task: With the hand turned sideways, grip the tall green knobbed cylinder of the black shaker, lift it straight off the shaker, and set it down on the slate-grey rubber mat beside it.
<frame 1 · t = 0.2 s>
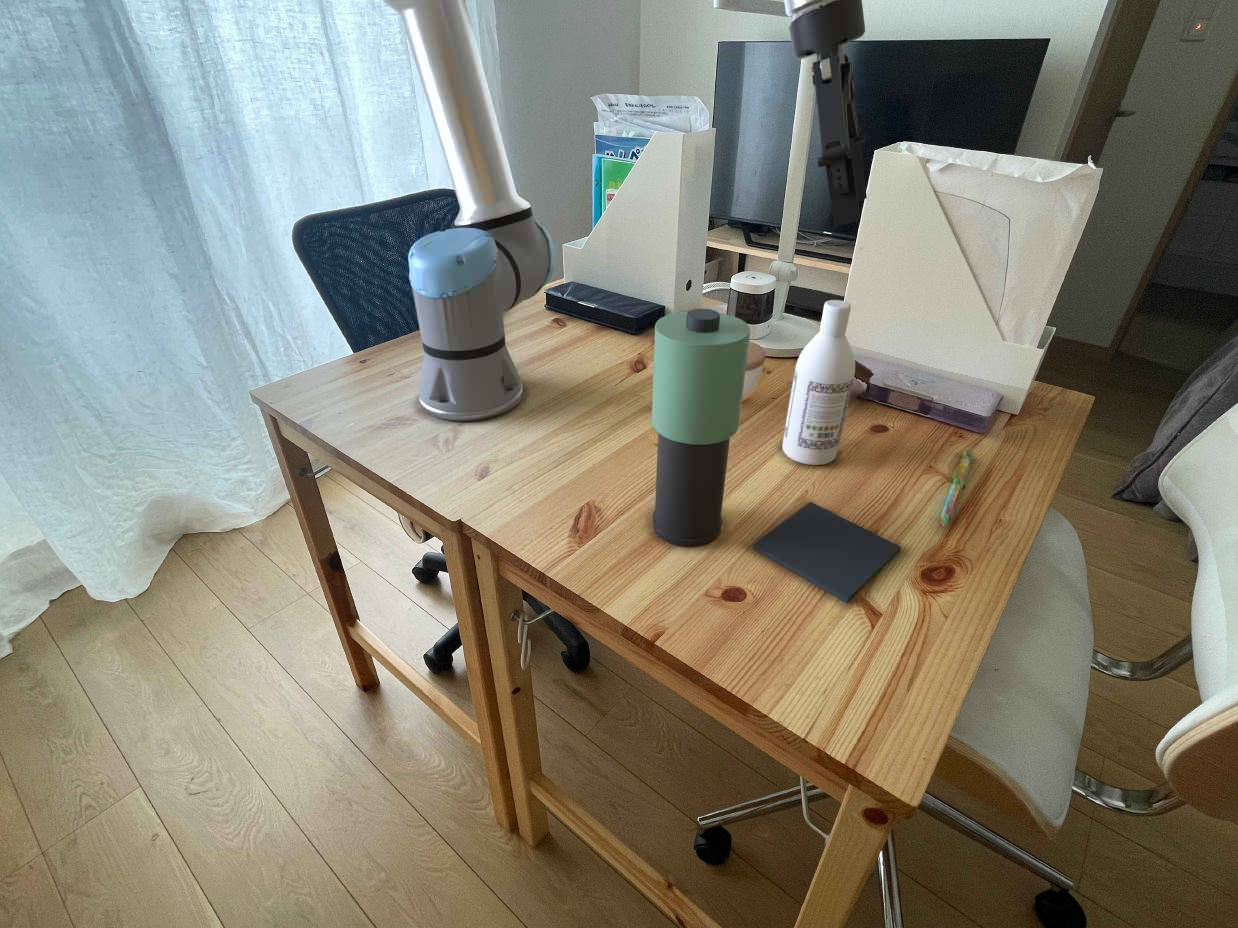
hand: (851, 211, 76), 28 cm above the table, tool tilted 20°, fingers open, 13 cm apart
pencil: (955, 492, 75), on the table
mat: (826, 549, 67), on the table
shaker: (686, 525, 70), on the table
bath foam: (808, 453, 83), on the table
green knobbed cylinder: (694, 422, 63), point 13 cm above the table, touching shaker
white bowl with lid: (723, 399, 96), on the table
pottery mug: (832, 400, 96), on the table
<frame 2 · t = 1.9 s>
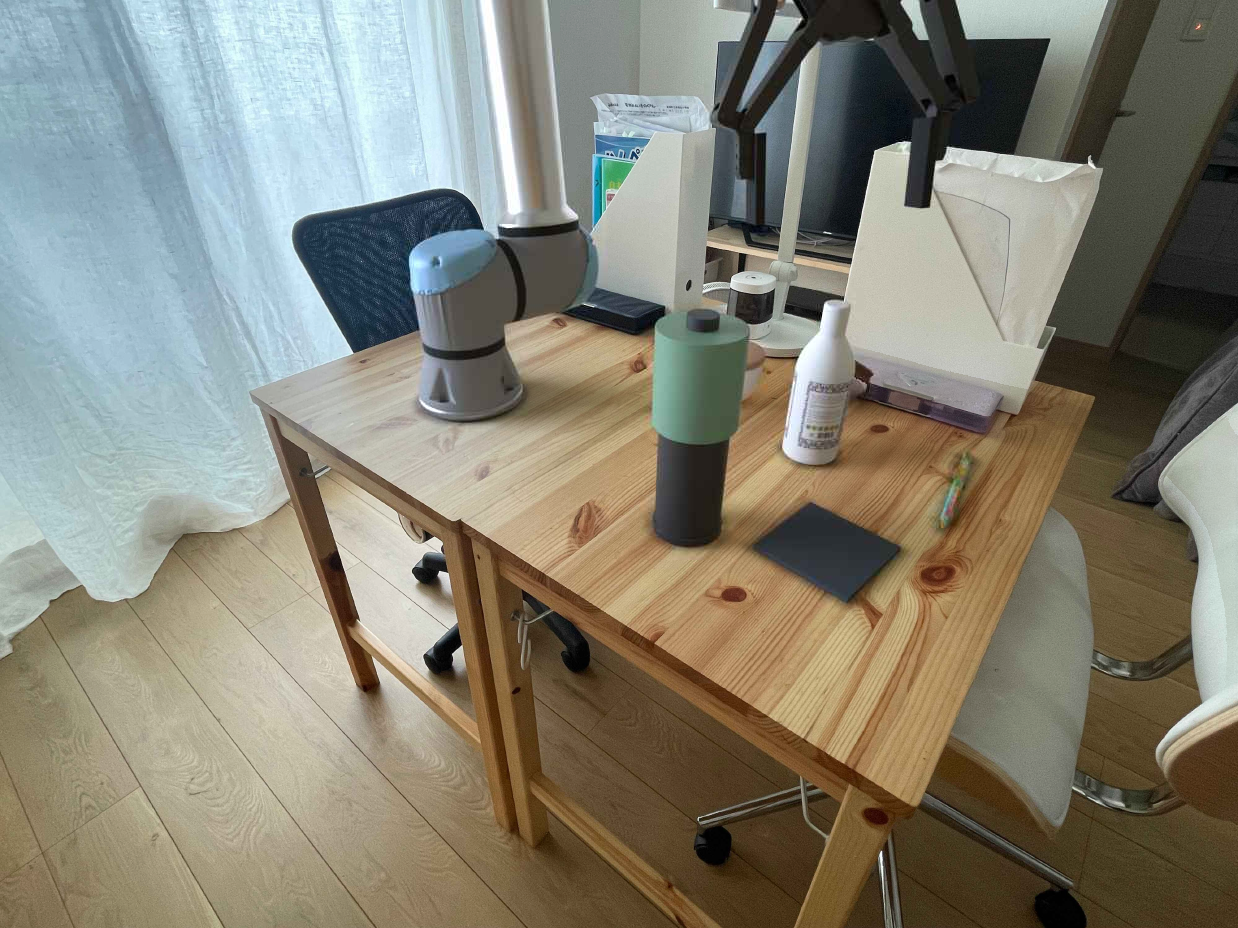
hand: (836, 215, 52), 33 cm above the table, tool pointing down, fingers open, 13 cm apart
nothing on the table moved.
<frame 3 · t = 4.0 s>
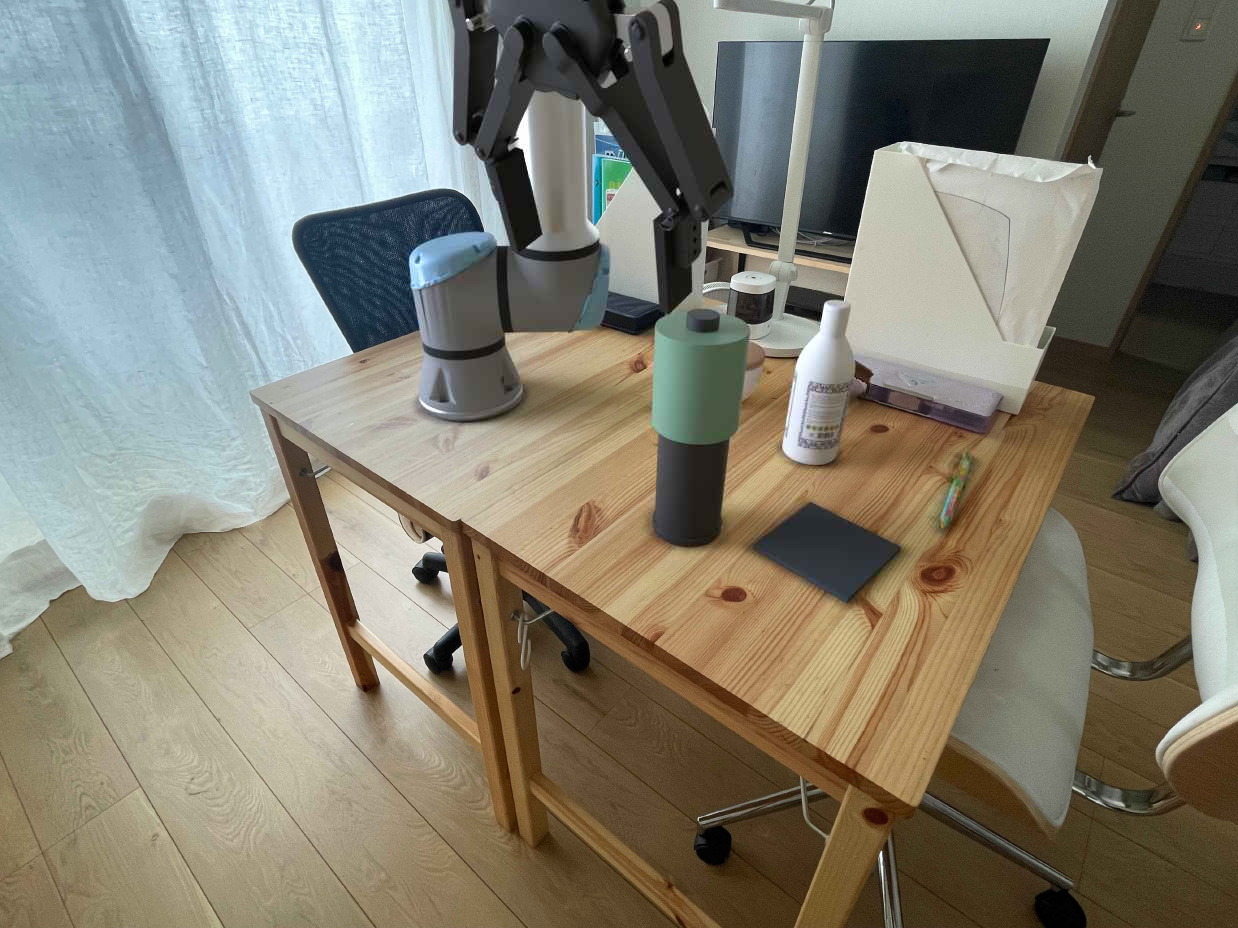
hand: (596, 270, 45), 31 cm above the table, tool tilted 20°, fingers open, 13 cm apart
nothing on the table moved.
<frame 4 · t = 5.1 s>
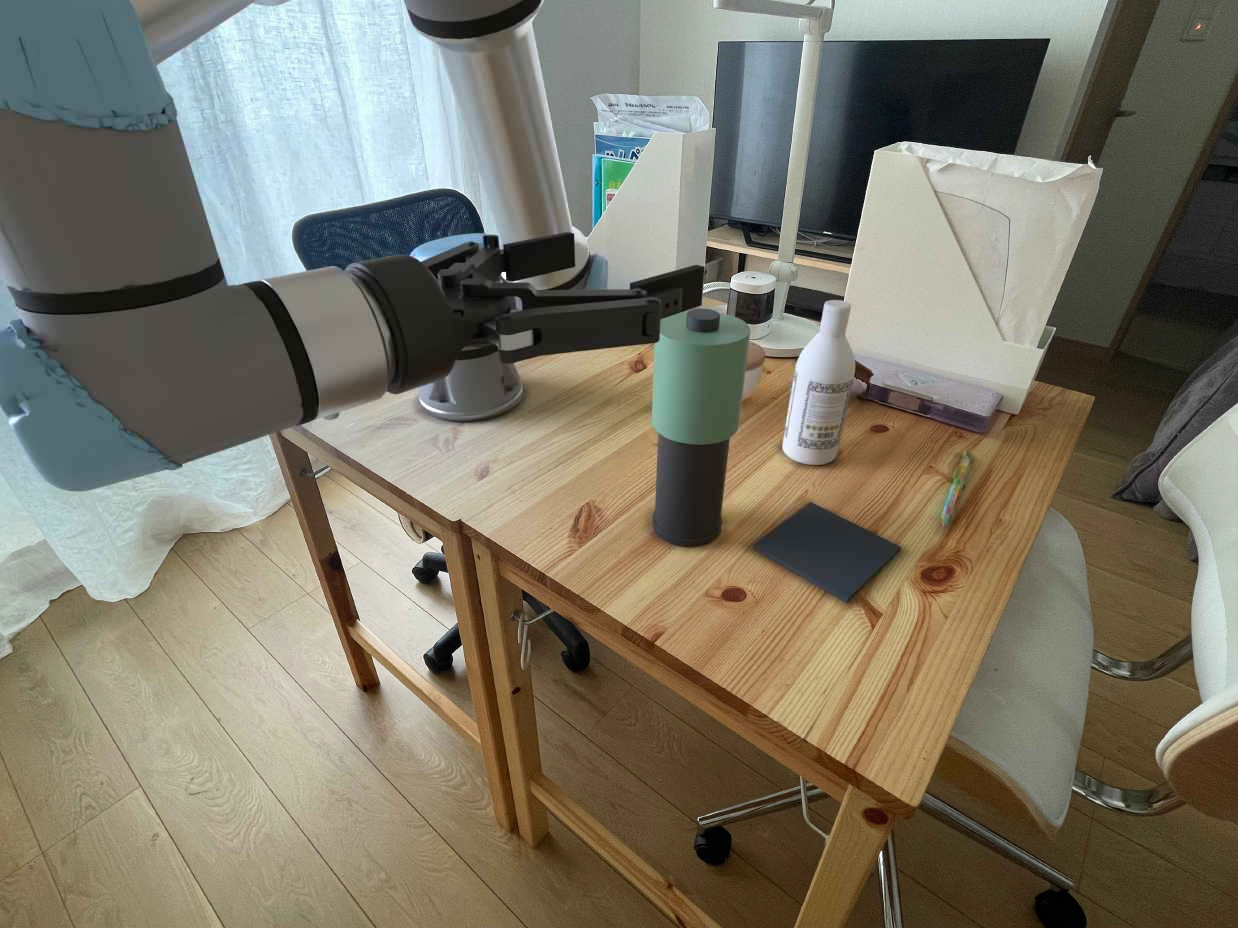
hand: (630, 265, 48), 30 cm above the table, tool horizontal, fingers open, 13 cm apart
nothing on the table moved.
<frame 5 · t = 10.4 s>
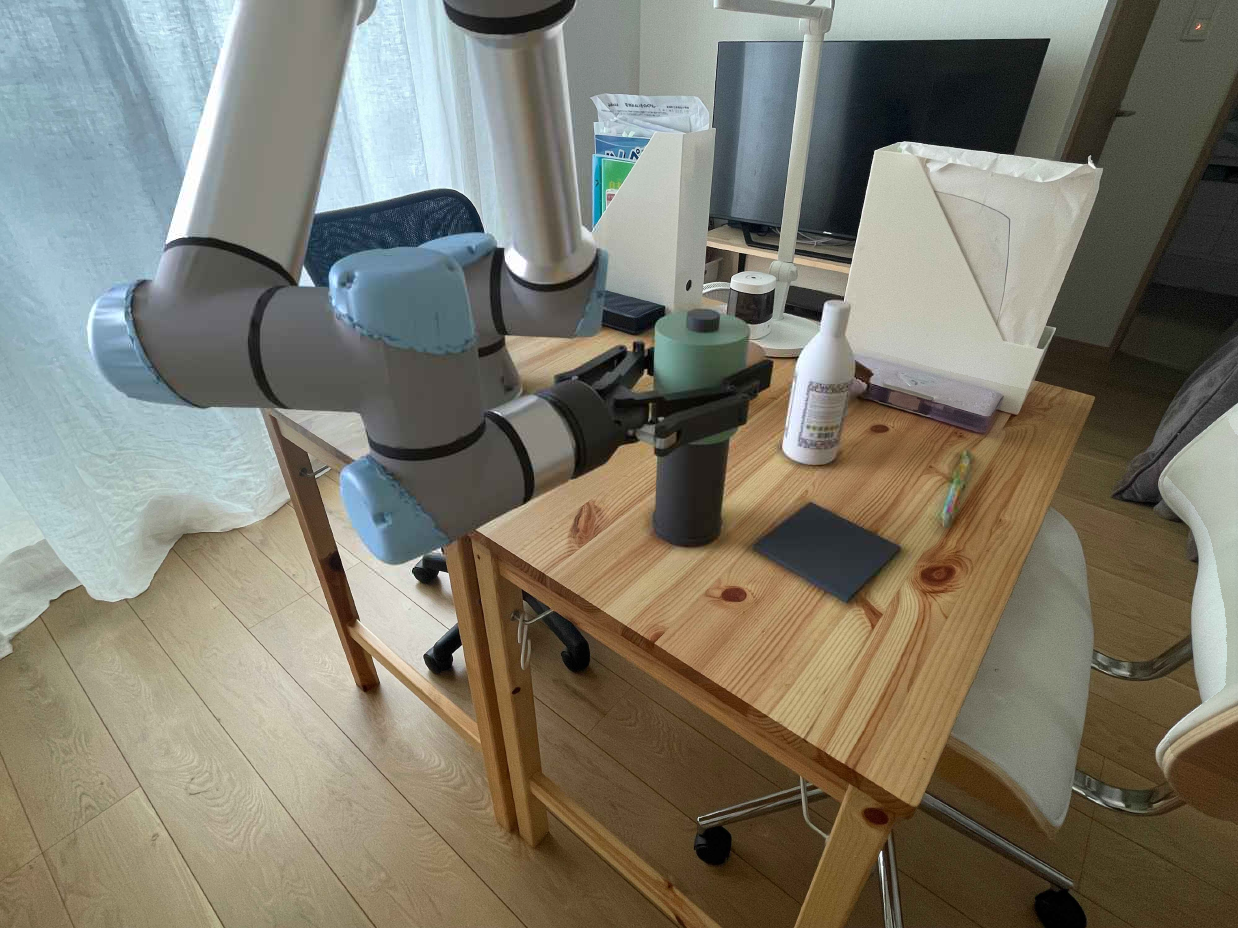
hand: (729, 358, 63), 18 cm above the table, tool horizontal, fingers closed on green knobbed cylinder, 9 cm apart
green knobbed cylinder: (694, 422, 63), point 13 cm above the table, touching gripper, shaker
everything else where it was.
when the fingers open (6 cm above the table, at t = 20.8 s): green knobbed cylinder stays where it is, resting on mat.
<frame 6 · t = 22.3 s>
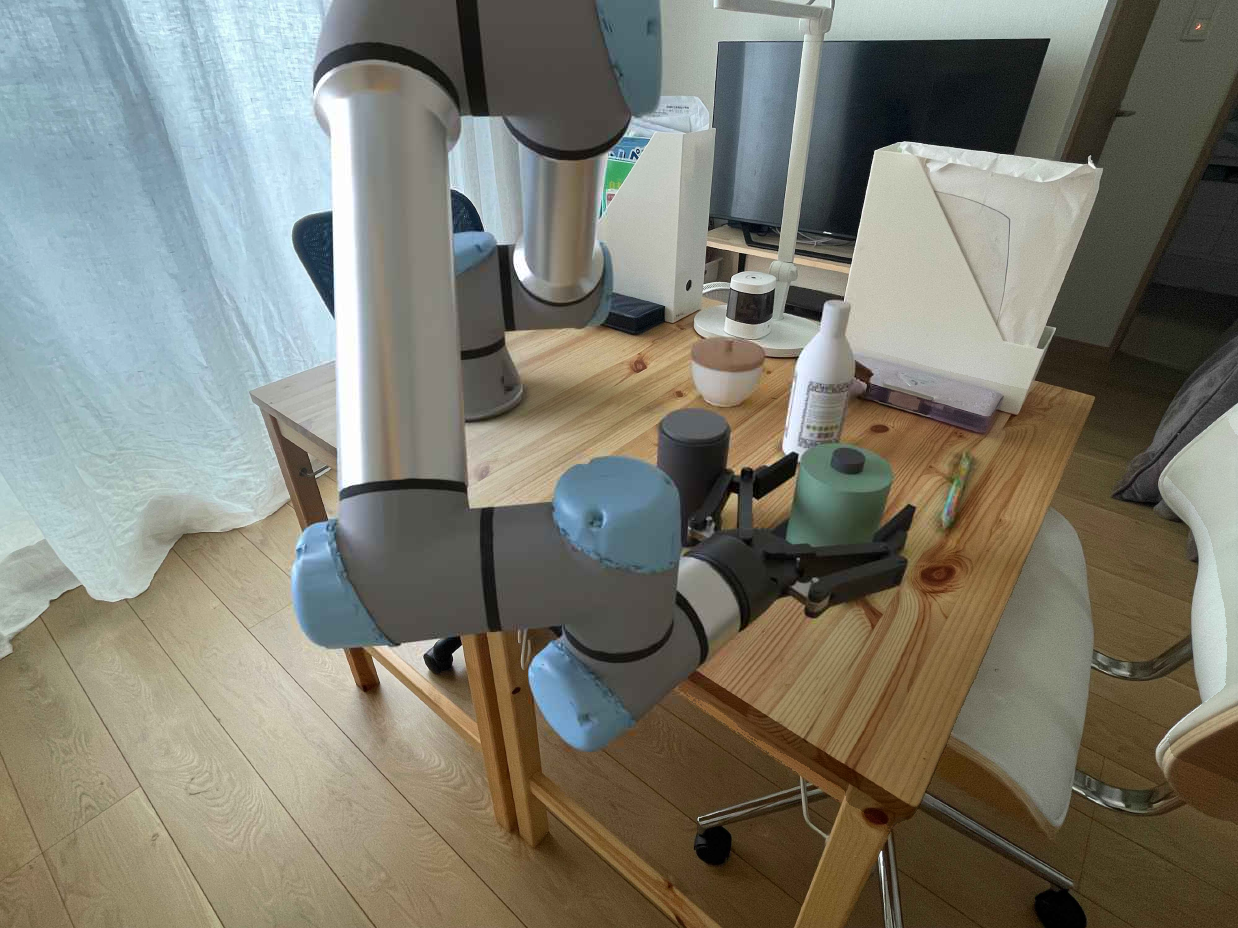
hand: (848, 488, 63), 8 cm above the table, tool horizontal, fingers open, 12 cm apart
green knobbed cylinder: (827, 545, 66), point 1 cm above the table, touching mat
everything else where it was.
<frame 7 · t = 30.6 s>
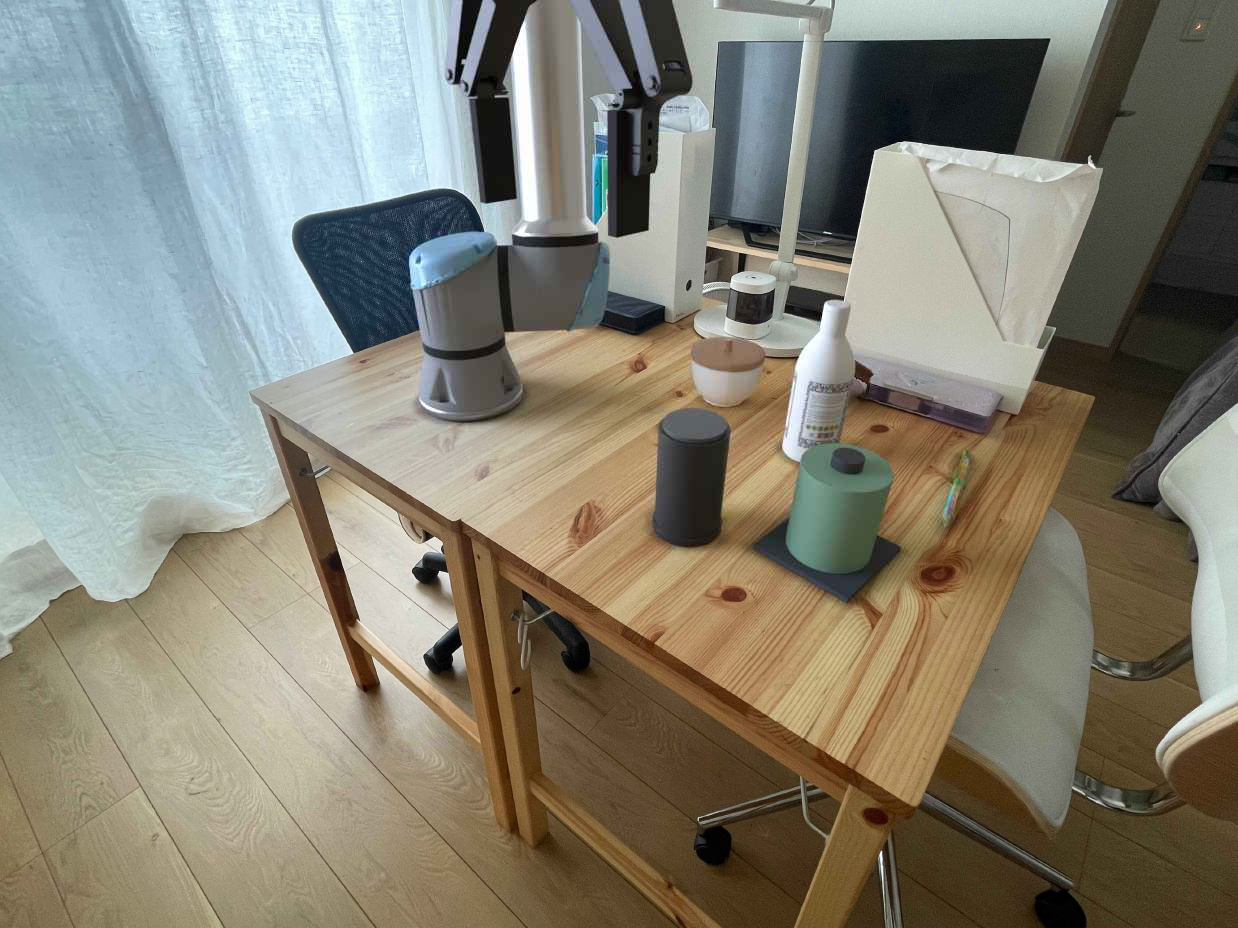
hand: (557, 216, 42), 35 cm above the table, tool pointing down, fingers open, 13 cm apart
nothing on the table moved.
at the end: green knobbed cylinder inside the target area on the mat (0.1 cm from its centre), point 0.6 cm above the mat's base; green knobbed cylinder tilted 0°; green knobbed cylinder touching mat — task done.
